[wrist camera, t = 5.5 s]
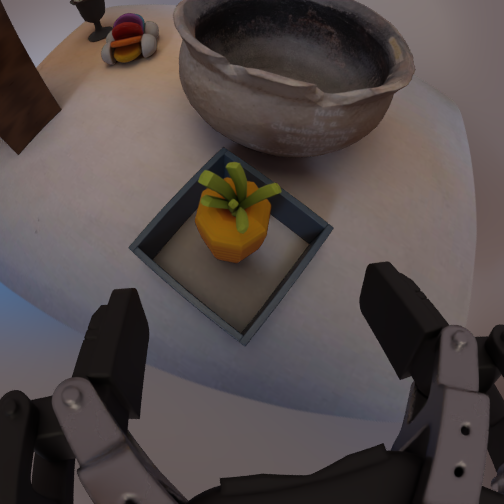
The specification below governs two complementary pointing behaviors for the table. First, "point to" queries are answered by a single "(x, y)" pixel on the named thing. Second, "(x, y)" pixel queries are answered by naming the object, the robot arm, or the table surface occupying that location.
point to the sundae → (93, 16)
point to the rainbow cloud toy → (130, 39)
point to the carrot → (233, 213)
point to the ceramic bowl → (290, 71)
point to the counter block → (21, 91)
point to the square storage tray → (188, 202)
